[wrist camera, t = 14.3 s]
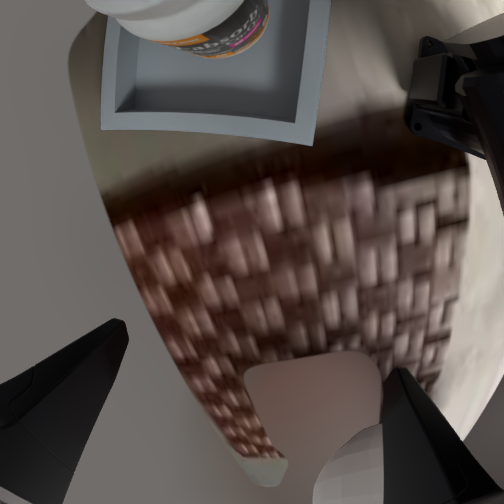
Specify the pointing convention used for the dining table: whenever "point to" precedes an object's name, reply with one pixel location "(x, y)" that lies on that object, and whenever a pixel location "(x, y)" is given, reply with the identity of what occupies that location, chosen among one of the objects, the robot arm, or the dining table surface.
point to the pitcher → (354, 472)
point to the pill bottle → (192, 23)
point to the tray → (222, 80)
